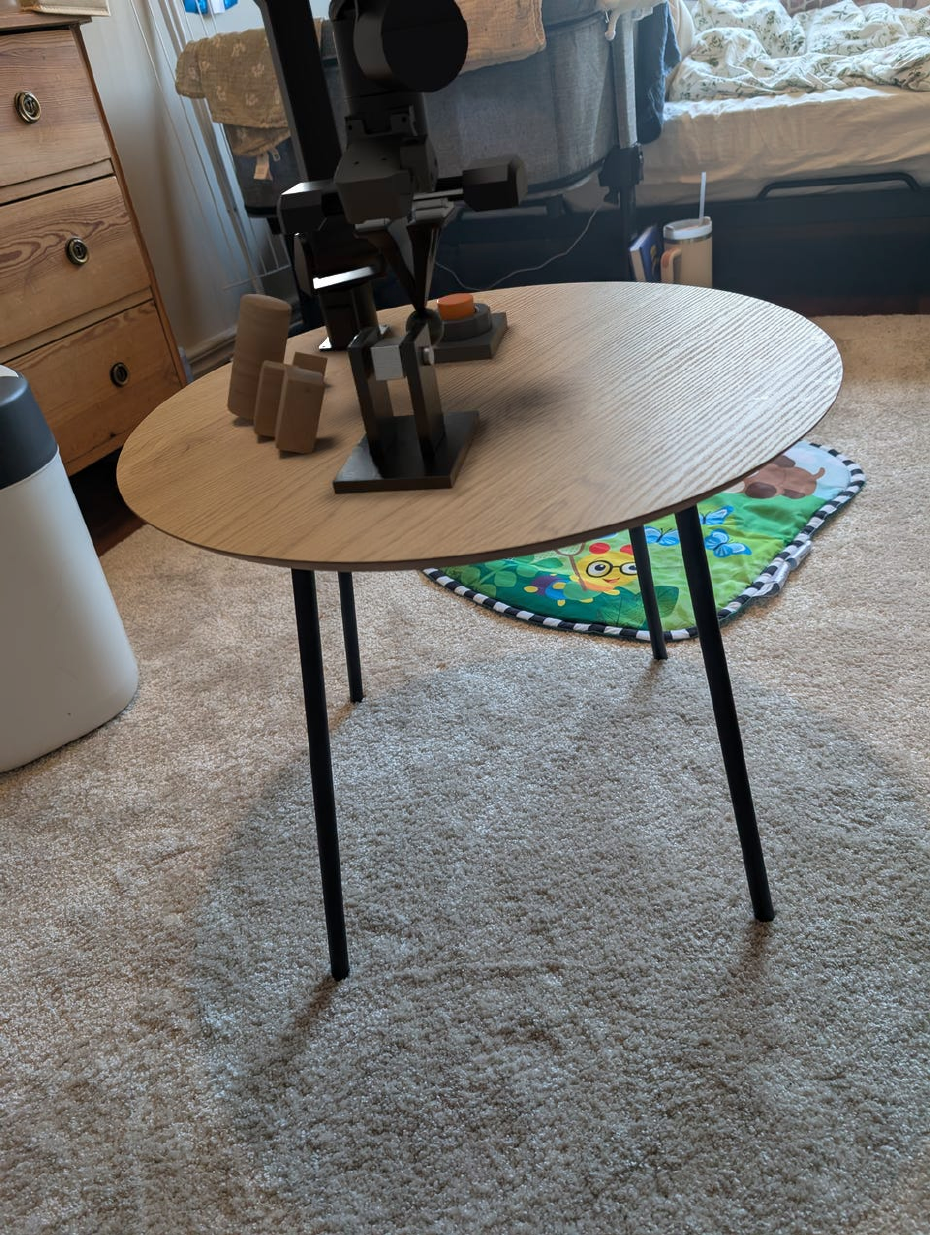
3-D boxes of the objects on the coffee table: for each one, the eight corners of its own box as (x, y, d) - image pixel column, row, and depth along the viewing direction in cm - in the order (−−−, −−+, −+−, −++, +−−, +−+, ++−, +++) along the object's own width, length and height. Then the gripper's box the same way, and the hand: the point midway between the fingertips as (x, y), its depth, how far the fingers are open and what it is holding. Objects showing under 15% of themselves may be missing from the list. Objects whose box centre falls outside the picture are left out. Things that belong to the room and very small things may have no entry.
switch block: (434, 334, 96) (429, 301, 94) (508, 328, 94) (503, 294, 92) (413, 367, 88) (406, 332, 86) (492, 361, 86) (487, 325, 84)
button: (443, 312, 91) (441, 295, 90) (478, 309, 91) (475, 291, 90) (436, 323, 89) (433, 305, 88) (471, 320, 88) (469, 302, 87)
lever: (413, 344, 77) (408, 306, 75) (450, 341, 76) (444, 302, 75) (370, 387, 66) (362, 343, 64) (411, 384, 65) (404, 339, 64)
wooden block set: (330, 477, 75) (354, 359, 70) (224, 460, 73) (241, 336, 67) (316, 397, 90) (335, 294, 84) (227, 381, 87) (241, 274, 82)
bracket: (377, 430, 76) (352, 314, 71) (480, 423, 74) (463, 303, 69) (335, 496, 67) (302, 369, 61) (452, 491, 65) (429, 358, 59)
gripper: (221, 125, 61) (281, 351, 69) (492, 83, 56) (519, 330, 65) (279, 104, 69) (326, 307, 78) (516, 66, 65) (538, 286, 74)
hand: (421, 308), depth 73 cm, fingers closed
